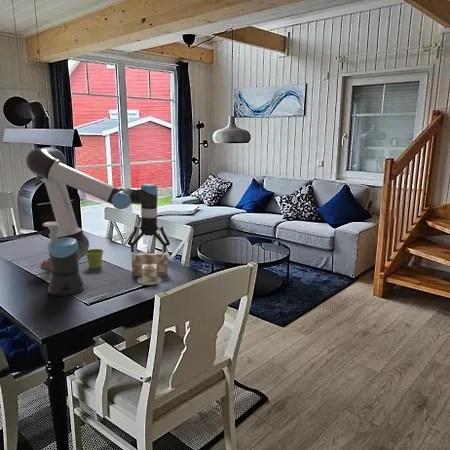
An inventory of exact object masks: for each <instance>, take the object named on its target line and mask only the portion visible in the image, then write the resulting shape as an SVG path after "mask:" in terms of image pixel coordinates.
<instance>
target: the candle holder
mask: <svg viewBox="0 0 450 450" xmlns="http://www.w3.org/2000/svg"><path fill="white" fill-rule="evenodd" d="M42 226H43V227H46V228H48V229H49V234H48V236H49V238H50V242H49V243H48V245H47V248H46V249H47V251H48V252H49V253H48V255H49V257H48V258H47V259H44V260H42V263H40V267H41V268H42V269H45V270H48V271H51V259H50V244H51V242H52V241H54V240H56V239H58V237H57V235H58V232H57V230H58V225H57V222H56V220H55V221H54V220H53V221H47V222H46V221H45V222H43V223H42Z"/></svg>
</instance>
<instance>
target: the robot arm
mask: <svg viewBox="0 0 450 450" xmlns="http://www.w3.org/2000/svg"><path fill="white" fill-rule="evenodd" d="M25 161H26V162H25V163H26V166H27V168H28V169H29V170H30V172H31V173H33V174H35V175H36V176H38V178H39V180H40V181H41V182H43V183H44V185H45V188H46V191H47V195H48V199H49V201H50V205H51V208H52V211H53V215H54V218H55V221H56V222H57V225H58V228H59V233H58V235H57V237H58V239H56V240H54V241H52V242H51V244H50V251H49V253H50V256H49V258H50V259H51V270H50V271H51V275H50V280H49V284H48V286H47V287H48V288H47V289H48V294H50V295H52V296H56V297H57V296H58V297H64V296H72V295H76V294H78V293H81V292H82V291H83V290H84V289H85V288H84V287H85V286H84V282H83V279H82V277H81V274H80V265H79V264H80V263H79V260H80V259H82V258H83V257H84V256H85V255H86V252H87V251H88V250H89V248H90V241H89V239H88V237H87V236H86V235H85V234H84V231H83V228H81V227H79V226H78V222H77V220H76V215H75V212H74V209H73V206H72V202H71V199H70V195H69V192H68V188H67V186H68V187H71V188H73V189H76V190H79V191H81V192H83V193H85V194H87V195H90V196H92V197H94V198H97V199H99V200H101V201H104V202H105V203H108V204H111V205H112V206H113V207H114V208H115V209H116V210H125V209H127V208H129V207H130V205H134V204H135V205H141V206H140V207H141V209H140V226H138V225H134V228H133V232H132V234H131V235H130V237H129V238H128V241H127V245H128V246H130V249H131V253H132V254H134V260H135V254H136V248H137V247H136V244H137V243H138V242H139V241H140V240H141V238H143V236H146V237H147V236H150V237H151V236H152V237H153V236H154V237H155V238H156V239H157V240H158V242H160V244H161V254H162V260H163V257H164V254H167V253H166V252H167V247H168V246H170V245H171V242H170V240H169V238H168V236H167V234H166V232H165V230H164V226H163V225H161V226H158V196H159V195H158V186H157V185H156V184H154V183H143V184H141V186H140V187H125V186H122V187H120V186H119V187H116V186H113V185H111V184H110V183H109V184H108V183H107V182H104V181H102V180H100V179H97V178H95V177H93V176H90V175H88V174H86V173H84V172H82V171H80V170H77V169H75V168H72V167H70V166H68V165H66V157H65V155H64V154H63V152H62V151H60V149H59V150H58V149H57V148H55V147H52V146H51V147H41V148H40V147H38V148H34V149H32V150H31V151H30V152H28V154H27V156H26V158H25ZM158 230H159V232H160V233H161V235H162V237H163V238H162V237H161V236H160V235H159V234H158V232H157V231H158ZM139 231H141V232H140V233H139V235H138V236H137V237H136V238H135V239H134V237H135V236H136V234H137V232H139ZM133 239H134V240H133ZM164 240H165V241H164Z"/></svg>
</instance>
